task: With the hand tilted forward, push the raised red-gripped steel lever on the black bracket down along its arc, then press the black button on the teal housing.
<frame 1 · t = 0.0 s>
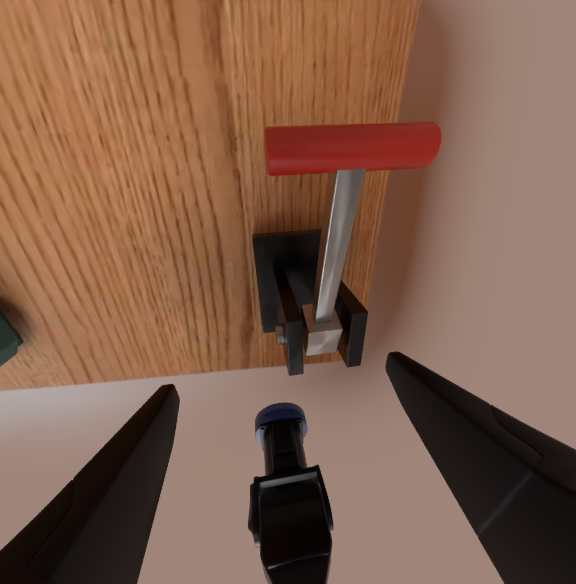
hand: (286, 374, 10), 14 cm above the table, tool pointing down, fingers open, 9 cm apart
bracket: (297, 281, 23), on the table
lever: (328, 272, 12), point 10 cm above the table, hinge at 18.0°
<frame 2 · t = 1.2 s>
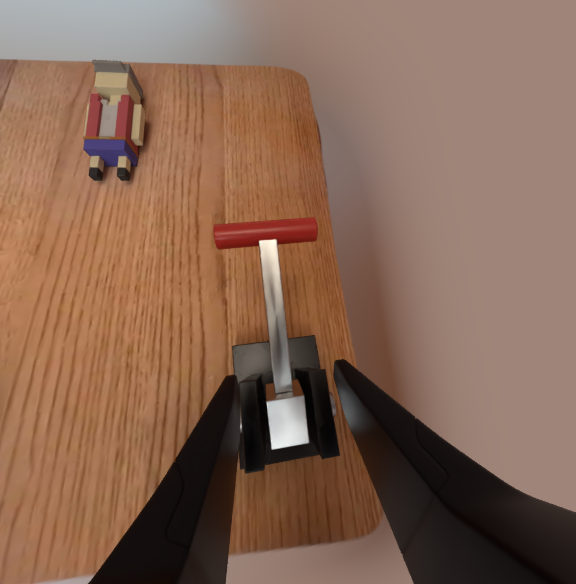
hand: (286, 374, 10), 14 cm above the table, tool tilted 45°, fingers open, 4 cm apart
bracket: (280, 394, 22), on the table
lever: (276, 328, 14), point 10 cm above the table, hinge at 18.0°
toy: (124, 138, 30), on the table
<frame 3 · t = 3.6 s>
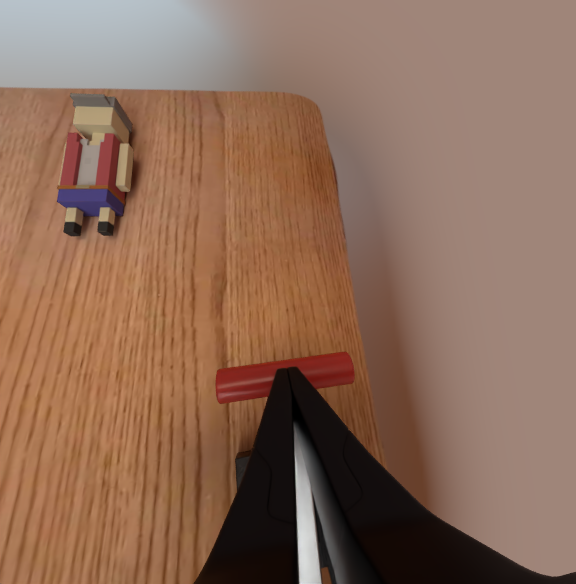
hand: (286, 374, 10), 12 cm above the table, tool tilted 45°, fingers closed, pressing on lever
bracket: (295, 519, 17), on the table
lever: (300, 510, 10), point 9 cm above the table, hinge at 13.4°, touching gripper
toy: (109, 180, 25), on the table
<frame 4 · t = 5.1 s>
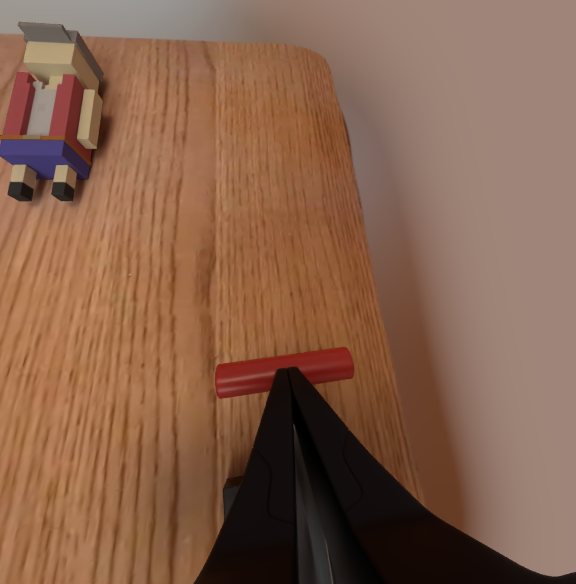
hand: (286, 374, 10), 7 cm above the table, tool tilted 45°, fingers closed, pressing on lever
bracket: (304, 569, 13), on the table
lever: (309, 550, 8), point 7 cm above the table, hinge at -11.5°, touching gripper
toy: (74, 138, 21), on the table
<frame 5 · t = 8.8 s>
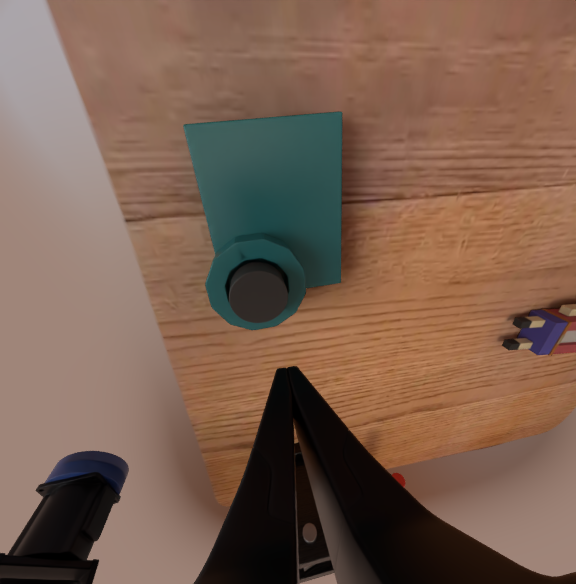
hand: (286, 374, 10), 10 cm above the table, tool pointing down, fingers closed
button box: (274, 215, 17), on the table
bracket: (296, 461, 31), on the table
lever: (353, 518, 26), point 7 cm above the table, hinge at -11.5°
toy: (555, 320, 28), on the table
button: (258, 292, 15), point 4 cm above the table, slide at 0.2 cm
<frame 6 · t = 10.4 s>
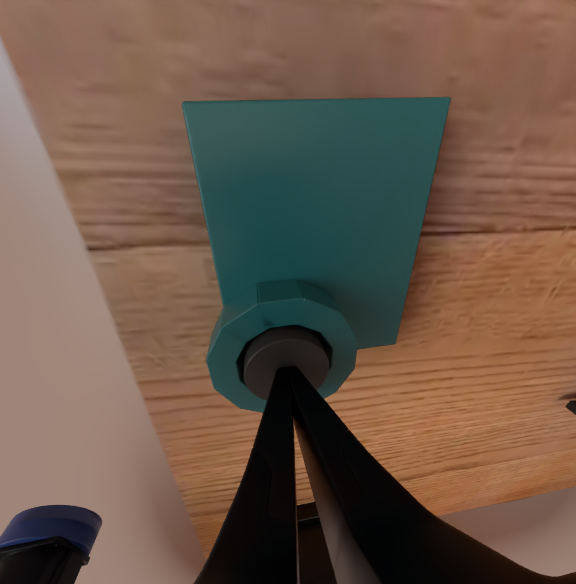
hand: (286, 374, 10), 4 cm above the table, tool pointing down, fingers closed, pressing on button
button box: (312, 248, 11), on the table
bracket: (302, 520, 26), on the table
button: (284, 359, 10), point 3 cm above the table, slide at -0.7 cm, touching gripper
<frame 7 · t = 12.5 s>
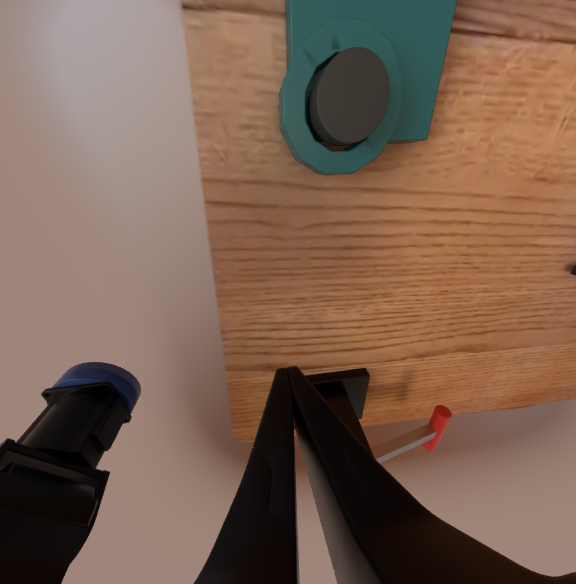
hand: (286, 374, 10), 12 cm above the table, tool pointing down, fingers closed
button box: (361, 33, 14), on the table
bracket: (323, 396, 29), on the table
lever: (390, 448, 23), point 7 cm above the table, hinge at -11.5°
button: (347, 103, 12), point 4 cm above the table, slide at 0.2 cm
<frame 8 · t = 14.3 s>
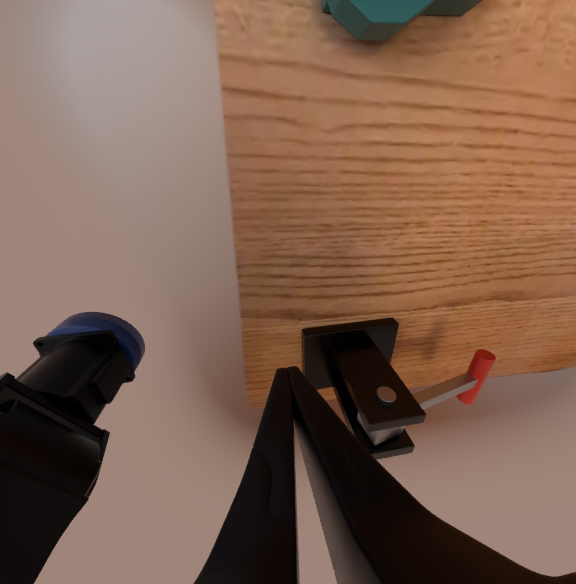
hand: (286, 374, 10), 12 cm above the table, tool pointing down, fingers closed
bracket: (345, 351, 26), on the table
lever: (428, 397, 21), point 7 cm above the table, hinge at -11.5°
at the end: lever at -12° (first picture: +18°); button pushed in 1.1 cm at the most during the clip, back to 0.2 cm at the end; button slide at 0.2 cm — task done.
